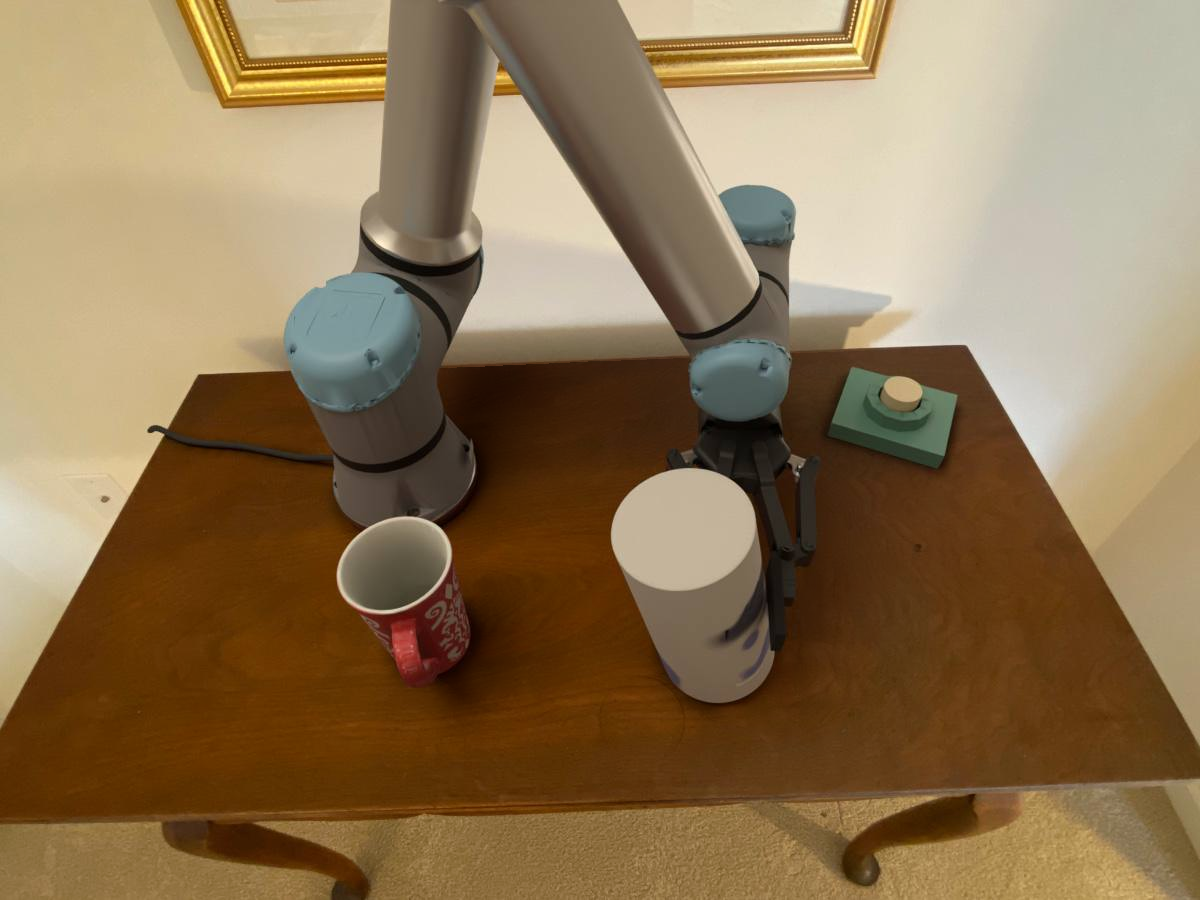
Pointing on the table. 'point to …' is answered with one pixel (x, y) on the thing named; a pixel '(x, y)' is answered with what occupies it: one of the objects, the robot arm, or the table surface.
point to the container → (697, 580)
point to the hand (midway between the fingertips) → (750, 640)
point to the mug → (407, 595)
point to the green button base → (893, 420)
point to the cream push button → (901, 394)
